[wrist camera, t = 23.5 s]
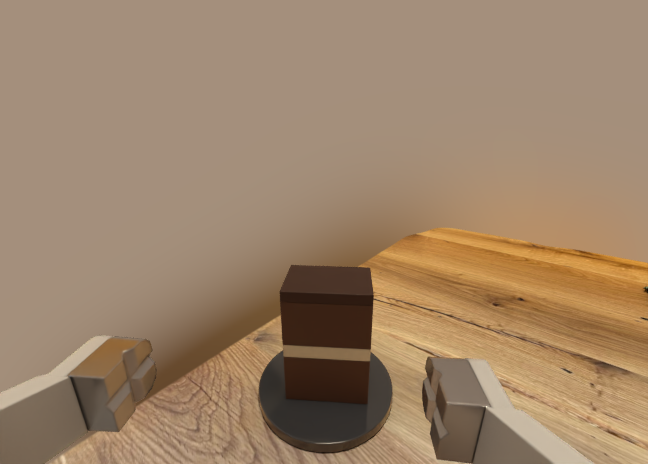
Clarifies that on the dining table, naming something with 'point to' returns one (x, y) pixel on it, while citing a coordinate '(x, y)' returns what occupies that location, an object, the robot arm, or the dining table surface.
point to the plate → (324, 411)
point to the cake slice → (327, 333)
